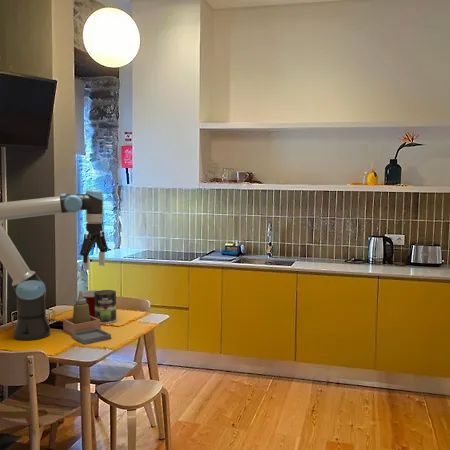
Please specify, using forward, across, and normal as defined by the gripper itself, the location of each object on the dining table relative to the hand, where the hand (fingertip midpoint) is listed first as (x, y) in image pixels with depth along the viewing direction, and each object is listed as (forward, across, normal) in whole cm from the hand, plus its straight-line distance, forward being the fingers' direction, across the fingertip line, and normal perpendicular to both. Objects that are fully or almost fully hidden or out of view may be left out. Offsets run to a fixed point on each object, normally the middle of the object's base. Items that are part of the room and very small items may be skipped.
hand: (94, 267), depth 263 cm
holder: (+27, -13, -2) cm, 30 cm away
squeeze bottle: (+27, -13, -2) cm, 30 cm away
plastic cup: (+27, +10, +7) cm, 29 cm away
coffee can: (+26, +4, -4) cm, 27 cm away
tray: (+26, -22, -13) cm, 37 cm away
